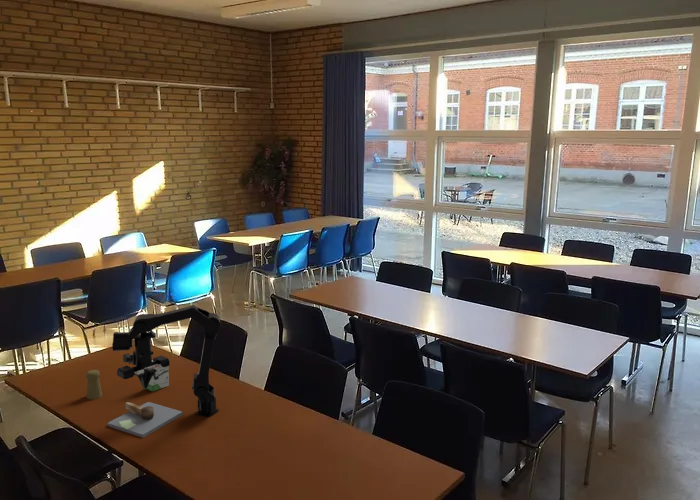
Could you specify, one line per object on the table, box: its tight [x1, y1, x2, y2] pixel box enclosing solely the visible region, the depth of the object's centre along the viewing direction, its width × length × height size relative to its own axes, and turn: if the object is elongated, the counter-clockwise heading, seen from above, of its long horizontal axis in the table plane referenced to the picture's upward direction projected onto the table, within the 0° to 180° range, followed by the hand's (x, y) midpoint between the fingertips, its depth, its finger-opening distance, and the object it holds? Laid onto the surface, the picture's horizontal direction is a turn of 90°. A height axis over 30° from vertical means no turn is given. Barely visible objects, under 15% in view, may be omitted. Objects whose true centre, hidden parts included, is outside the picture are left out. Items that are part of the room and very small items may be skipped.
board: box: [107, 401, 184, 438], centre depth 216 cm, size 18×20×1 cm
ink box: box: [145, 359, 170, 392], centre depth 244 cm, size 9×5×12 cm, turn 143°
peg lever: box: [125, 401, 154, 419], centre depth 217 cm, size 14×4×3 cm, turn 58°
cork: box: [85, 369, 103, 400], centre depth 234 cm, size 6×6×11 cm
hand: (145, 388), depth 215 cm, fingers closed
